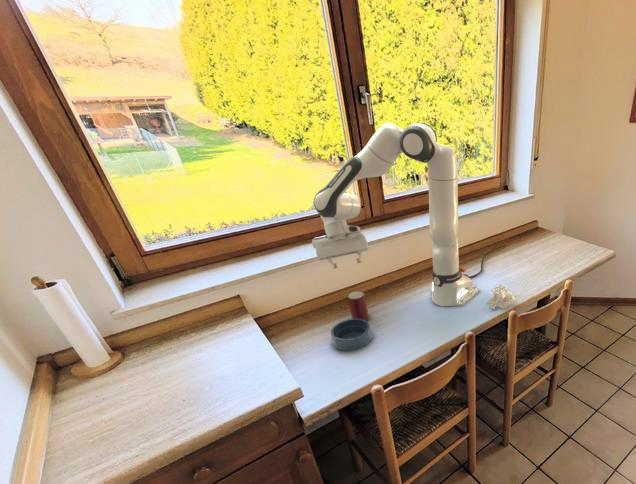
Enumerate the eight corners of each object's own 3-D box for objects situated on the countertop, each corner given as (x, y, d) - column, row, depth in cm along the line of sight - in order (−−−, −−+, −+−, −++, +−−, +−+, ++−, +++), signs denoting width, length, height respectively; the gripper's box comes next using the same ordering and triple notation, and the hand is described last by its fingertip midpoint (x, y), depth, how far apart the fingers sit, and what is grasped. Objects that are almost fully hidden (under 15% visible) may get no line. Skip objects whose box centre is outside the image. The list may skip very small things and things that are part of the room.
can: (363, 313, 150) (358, 289, 144) (372, 319, 147) (367, 294, 141) (349, 319, 146) (344, 295, 140) (358, 325, 143) (353, 301, 137)
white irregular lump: (516, 307, 149) (500, 291, 147) (501, 318, 153) (485, 303, 151) (520, 293, 159) (505, 278, 157) (506, 304, 163) (491, 290, 161)
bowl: (358, 325, 143) (356, 314, 140) (379, 339, 135) (377, 327, 132) (326, 341, 134) (323, 329, 131) (347, 357, 126) (344, 345, 123)
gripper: (310, 235, 139) (320, 269, 138) (363, 226, 147) (373, 258, 147) (310, 240, 144) (320, 273, 144) (362, 230, 153) (371, 261, 152)
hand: (347, 265), depth 145 cm, fingers open, 8 cm apart
